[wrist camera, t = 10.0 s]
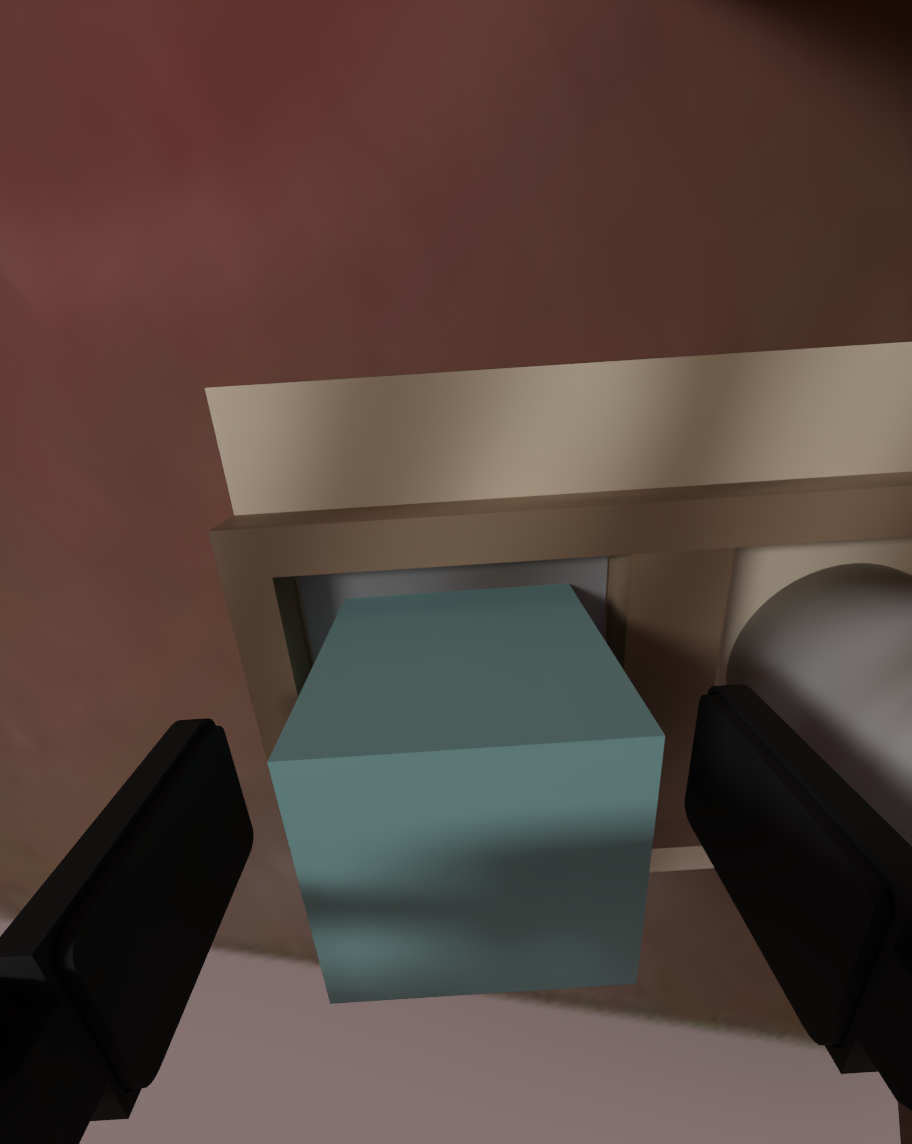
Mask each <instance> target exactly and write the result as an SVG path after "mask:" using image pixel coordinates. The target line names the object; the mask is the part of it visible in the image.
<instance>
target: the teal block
mask: <svg viewBox="0 0 912 1144" xmlns="http://www.w3.org/2000/svg"><path fill="white" fill-rule="evenodd" d="M664 743H665V735H664V733H663V731H662V730H661V728H660V727H659V725H658V723H657V722H656V720H655V719H654V717H653V716H652V714H651V712H650V711H649V709H648V708H647V706H646V705H645V703H644V701H643V700H642V698H641V697H640V695H639V694H638V692H637V690H636V689H635V687H634V686H633V684H632V682H631V681H630V679H629V678H628V676H627V675H626V673H625V671H624V670H623V668H622V667H621V665H620V664H619V662H618V660H617V659H616V657H615V656H614V654H613V653H612V651H611V649H610V648H609V646H608V645H607V643H606V641H605V640H604V638H603V637H602V635H601V634H600V632H599V630H598V629H597V627H596V626H595V624H594V623H593V621H592V619H591V618H590V616H589V615H588V613H587V612H586V610H585V608H584V607H583V605H582V604H581V602H580V600H579V599H578V597H577V596H576V594H575V593H574V591H573V589H572V588H571V586H570V585H569V583H568V584H553V585H538V586H524V587H509V588H494V589H479V590H464V591H449V592H434V593H419V594H404V595H390V596H375V597H360V598H345V600H344V602H343V604H342V606H341V608H340V610H339V612H338V614H337V616H336V619H335V621H334V623H333V625H332V627H331V629H330V631H329V633H328V635H327V637H326V640H325V642H324V644H323V646H322V648H321V650H320V652H319V654H318V656H317V659H316V661H315V663H314V665H313V667H312V669H311V671H310V673H309V675H308V678H307V680H306V682H305V684H304V686H303V688H302V690H301V692H300V694H299V696H298V699H297V701H296V703H295V705H294V707H293V709H292V711H291V713H290V715H289V718H288V720H287V722H286V724H285V726H284V728H283V730H282V732H281V734H280V737H279V739H278V741H277V743H276V745H275V747H274V749H273V751H272V753H271V755H270V758H269V760H268V762H267V763H268V767H269V770H270V774H271V778H272V782H273V786H274V790H275V793H276V797H277V801H278V805H279V809H280V813H281V816H282V820H283V824H284V828H285V832H286V836H287V839H288V843H289V847H290V851H291V855H292V859H293V862H294V866H295V870H296V874H297V878H298V882H299V885H300V889H301V893H302V897H303V901H304V905H305V908H306V912H307V916H308V920H309V924H310V928H311V931H312V935H313V939H314V943H315V947H316V951H317V954H318V958H319V962H320V966H321V970H322V974H323V977H324V980H325V985H326V989H327V992H328V996H329V1000H330V1003H331V1004H332V1003H347V1002H363V1001H378V1000H393V999H408V998H424V997H438V996H455V995H470V994H486V993H501V992H516V991H532V990H547V989H563V988H578V987H593V986H609V985H624V984H636V983H637V975H638V966H639V957H640V949H641V940H642V932H643V923H644V914H645V906H646V897H647V889H648V880H649V871H650V863H651V854H652V846H653V837H654V828H655V820H656V811H657V803H658V794H659V785H660V777H661V768H662V760H663V751H664Z"/></svg>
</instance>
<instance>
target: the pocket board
mask: <svg viewBox="0 0 912 1144" xmlns="http://www.w3.org/2000/svg"><path fill="white" fill-rule="evenodd" d="M205 391H206V396H207V400H208V404H209V408H210V413H211V417H212V421H213V426H214V430H215V434H216V438H217V443H218V447H219V451H220V455H221V460H222V464H223V468H224V473H225V477H226V481H227V485H228V490H229V494H230V498H231V503H232V507H233V511H234V516H233V517H231V518H229V519H228V520H226V521H224V522H223V523H221V524H219V525H218V526H216V527H215V528H213V529H211V530H210V531H208V533H209V537H210V541H211V545H212V549H213V552H214V556H215V560H216V564H217V568H218V572H219V576H220V580H221V584H222V587H223V591H224V595H225V599H226V603H227V607H228V611H229V615H230V618H231V622H232V626H233V630H234V634H235V638H236V642H237V646H238V650H239V653H240V657H241V661H242V665H243V669H244V673H245V677H246V681H247V685H248V688H249V692H250V696H251V700H252V704H253V708H254V712H255V716H256V720H257V723H258V727H259V731H260V735H261V739H262V743H263V747H264V751H265V754H266V758H267V762H268V760H269V758H270V755H271V753H272V751H273V749H274V747H275V745H276V743H277V741H278V739H279V737H280V734H281V732H282V730H283V728H284V726H285V724H286V722H287V720H288V718H289V715H290V713H291V711H292V709H293V707H294V705H295V703H296V701H297V699H298V696H299V694H300V692H301V690H302V688H303V686H304V684H305V682H306V680H307V678H308V675H309V673H310V671H311V669H312V667H313V665H314V663H315V661H316V659H317V656H318V654H319V652H320V650H321V648H322V646H323V644H324V642H325V640H326V637H327V635H328V633H329V631H330V629H331V627H332V625H333V623H334V621H335V619H336V616H337V614H338V612H339V610H340V608H341V606H342V604H343V602H344V600H345V598H360V597H375V596H390V595H404V594H419V593H434V592H449V591H464V590H479V589H494V588H509V587H524V586H538V585H553V584H568V583H569V585H570V586H571V588H572V589H573V591H574V593H575V594H576V596H577V597H578V599H579V600H580V602H581V604H582V605H583V607H584V608H585V610H586V612H587V613H588V615H589V616H590V618H591V619H592V621H593V623H594V624H595V626H596V627H597V629H598V630H599V632H600V634H601V635H602V637H603V638H604V640H605V641H606V643H607V645H608V646H609V648H610V649H611V651H612V653H613V654H614V656H615V657H616V659H617V660H618V662H619V664H620V665H621V667H622V668H623V670H624V671H625V673H626V675H627V676H628V678H629V679H630V681H631V682H632V684H633V686H634V687H635V689H636V690H637V692H638V694H639V695H640V697H641V698H642V700H643V701H644V703H645V705H646V706H647V708H648V709H649V711H650V712H651V714H652V716H653V717H654V719H655V720H656V722H657V723H658V725H659V727H660V728H661V730H662V731H663V733H664V735H665V743H664V751H663V760H662V768H661V777H660V785H659V794H658V803H657V811H656V820H655V828H654V837H653V846H652V854H651V863H650V871H649V872H660V871H676V870H692V869H707V868H714V866H713V865H712V863H711V861H710V859H709V858H708V856H707V854H706V852H705V850H704V849H703V847H702V845H701V843H700V841H699V840H698V838H697V836H696V834H695V833H694V831H693V829H692V827H691V825H690V823H689V821H688V819H687V816H686V812H685V806H684V803H685V794H686V787H687V781H688V774H689V767H690V760H691V753H692V747H693V740H694V733H695V726H696V719H697V712H698V706H699V700H700V697H701V696H702V695H704V694H707V693H708V690H709V689H710V687H712V686H721V685H736V684H744V685H747V686H748V687H750V688H751V689H752V690H753V691H754V692H755V693H756V694H757V695H758V696H759V697H760V698H761V699H762V700H763V701H764V702H765V703H766V704H767V705H768V706H769V707H770V708H771V709H772V710H773V711H774V712H775V713H776V714H777V715H779V716H780V717H781V718H782V719H783V720H784V721H785V722H786V723H787V724H788V725H789V726H790V727H791V728H792V729H793V730H794V731H795V732H796V733H797V734H798V735H799V736H800V737H801V738H802V739H803V740H804V741H805V742H806V743H807V744H808V745H809V746H810V747H811V748H812V749H813V750H814V751H815V752H816V753H817V754H818V755H819V756H820V757H821V758H822V759H823V760H824V761H825V762H826V763H827V764H828V765H829V766H830V767H831V768H833V769H834V770H835V771H836V772H837V773H838V774H839V775H840V776H841V777H842V778H843V779H844V780H845V781H846V782H847V783H848V784H849V785H850V786H851V787H852V788H853V789H854V790H855V791H856V792H857V793H858V794H859V795H860V796H861V797H862V798H863V799H864V800H865V801H866V802H867V803H868V804H869V805H870V806H871V807H872V808H873V809H874V810H875V811H876V812H877V813H878V814H879V815H880V816H881V817H882V818H883V819H884V820H886V821H887V822H888V823H889V824H890V825H891V826H892V827H893V828H894V829H895V830H896V831H897V832H898V833H899V834H900V835H901V836H902V837H903V838H904V839H905V840H906V841H907V842H908V843H909V844H910V845H911V846H912V342H901V343H886V344H871V345H855V346H840V347H825V348H810V349H794V350H779V351H764V352H748V353H733V354H718V355H703V356H687V357H672V358H657V359H642V360H626V361H611V362H596V363H580V364H565V365H550V366H534V367H519V368H504V369H489V370H473V371H458V372H443V373H427V374H412V375H397V376H382V377H366V378H351V379H336V380H321V381H305V382H290V383H275V384H259V385H244V386H229V387H214V388H205ZM281 817H282V816H281ZM282 821H283V820H282ZM287 840H288V839H287ZM288 844H289V843H288ZM289 848H290V847H289ZM290 852H291V851H290ZM293 863H294V862H293ZM294 867H295V866H294ZM295 871H296V870H295Z"/></svg>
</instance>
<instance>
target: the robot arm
mask: <svg viewBox="0 0 912 1144" xmlns="http://www.w3.org/2000/svg"><path fill="white" fill-rule="evenodd" d="M684 806H685V812H686V816H687V819H688V821H689V823H690V825H691V827H692V829H693V831H694V833H695V834H696V836H697V838H698V840H699V841H700V843H701V845H702V847H703V849H704V850H705V852H706V854H707V856H708V858H709V859H710V861H711V863H712V865H713V866H714V868H715V870H716V872H717V874H718V875H719V877H720V879H721V881H722V882H723V884H724V886H725V888H726V890H727V891H728V893H729V895H730V897H731V898H732V900H733V902H734V904H735V906H736V907H737V909H738V911H739V913H740V914H741V916H742V918H743V920H744V922H745V923H746V925H747V927H748V929H749V931H750V932H751V934H752V936H753V938H754V939H755V941H756V943H757V945H758V947H759V948H760V950H761V952H762V954H763V955H764V957H765V959H766V961H767V963H768V964H769V966H770V968H771V970H772V971H773V973H774V975H775V977H776V979H777V980H778V982H779V984H780V986H781V987H782V989H783V991H784V993H785V995H786V996H787V998H788V1000H789V1002H790V1004H791V1005H792V1007H793V1009H794V1011H795V1012H796V1014H797V1016H798V1018H799V1020H800V1021H801V1023H802V1025H803V1027H804V1028H805V1030H806V1031H807V1033H808V1035H809V1036H810V1037H811V1038H812V1039H813V1041H814V1042H816V1043H817V1044H818V1045H825V1047H826V1048H827V1050H828V1052H829V1054H830V1055H831V1057H832V1059H833V1061H834V1062H835V1064H836V1066H837V1067H838V1069H839V1071H840V1073H841V1074H846V1073H859V1072H877V1071H879V1073H880V1075H881V1076H882V1078H883V1079H884V1081H885V1082H886V1084H887V1086H888V1087H889V1089H890V1090H891V1091H892V1093H893V1095H894V1097H895V1098H896V1100H897V1101H898V1110H899V1122H900V1123H899V1124H900V1138H901V1144H912V846H911V845H910V844H909V843H908V842H907V841H906V840H905V839H904V838H903V837H902V836H901V835H900V834H899V833H898V832H897V831H896V830H895V829H894V828H893V827H892V826H891V825H890V824H889V823H888V822H887V821H886V820H884V819H883V818H882V817H881V816H880V815H879V814H878V813H877V812H876V811H875V810H874V809H873V808H872V807H871V806H870V805H869V804H868V803H867V802H866V801H865V800H864V799H863V798H862V797H861V796H860V795H859V794H858V793H857V792H856V791H855V790H854V789H853V788H852V787H851V786H850V785H849V784H848V783H847V782H846V781H845V780H844V779H843V778H842V777H841V776H840V775H839V774H838V773H837V772H836V771H835V770H834V769H833V768H831V767H830V766H829V765H828V764H827V763H826V762H825V761H824V760H823V759H822V758H821V757H820V756H819V755H818V754H817V753H816V752H815V751H814V750H813V749H812V748H811V747H810V746H809V745H808V744H807V743H806V742H805V741H804V740H803V739H802V738H801V737H800V736H799V735H798V734H797V733H796V732H795V731H794V730H793V729H792V728H791V727H790V726H789V725H788V724H787V723H786V722H785V721H784V720H783V719H782V718H781V717H780V716H779V715H777V714H776V713H775V712H774V711H773V710H772V709H771V708H770V707H769V706H768V705H767V704H766V703H765V702H764V701H763V700H762V699H761V698H760V697H759V696H758V695H757V694H756V693H755V692H754V691H753V690H752V689H751V688H750V687H748V686H747V685H744V684H736V685H721V686H712V687H710V689H709V690H708V693H707V694H704V695H702V696H701V697H700V700H699V706H698V712H697V719H696V726H695V733H694V740H693V747H692V753H691V760H690V767H689V774H688V781H687V787H686V794H685V803H684ZM252 844H253V828H252V824H251V821H250V818H249V814H248V811H247V807H246V804H245V800H244V797H243V793H242V790H241V787H240V783H239V780H238V776H237V773H236V769H235V766H234V762H233V759H232V755H231V752H230V749H229V745H228V742H227V738H226V735H225V732H224V729H223V728H222V727H221V726H216V725H215V723H214V721H213V720H212V719H208V718H207V719H192V720H179V721H176V722H175V723H174V724H173V725H172V726H171V727H170V728H169V729H168V730H167V732H166V733H165V734H164V735H163V737H162V738H161V739H160V740H159V742H158V743H157V744H156V745H155V747H154V748H153V749H152V750H151V751H150V753H149V754H148V755H147V756H146V758H145V759H144V760H143V761H142V763H141V764H140V765H139V766H138V767H137V769H136V770H135V771H134V772H133V774H132V775H131V776H130V777H129V779H128V780H127V781H126V782H125V784H124V785H123V786H122V787H121V788H120V790H119V791H118V792H117V793H116V795H115V796H114V797H113V798H112V800H111V801H110V802H109V803H108V805H107V806H106V807H105V808H104V809H103V811H102V812H101V813H100V814H99V816H98V817H97V818H96V819H95V821H94V822H93V823H92V824H91V825H90V827H89V828H88V829H87V830H86V832H85V833H84V834H83V835H82V837H81V838H80V839H79V840H78V842H77V843H76V844H75V845H74V846H73V848H72V849H71V850H70V851H69V853H68V854H67V855H66V856H65V858H64V859H63V860H62V861H61V863H60V864H59V865H58V866H57V867H56V869H55V870H54V871H53V872H52V874H51V875H50V876H49V877H48V879H47V880H46V881H45V882H44V884H43V885H42V886H41V887H40V888H39V890H38V891H37V892H36V893H35V895H34V896H33V897H32V898H31V900H30V901H29V902H28V903H27V904H26V906H25V907H24V908H23V909H22V911H21V912H20V913H19V914H18V916H17V917H16V918H15V919H14V921H13V922H12V923H11V924H10V925H9V927H8V928H7V929H6V931H5V932H4V933H3V934H2V935H1V937H0V1144H79V1143H80V1140H81V1138H82V1136H83V1134H84V1132H85V1130H86V1128H87V1126H88V1124H89V1122H90V1121H98V1120H115V1119H128V1118H129V1116H130V1114H131V1111H132V1109H133V1107H134V1104H135V1102H136V1100H137V1098H138V1095H139V1093H140V1091H141V1088H145V1087H147V1086H149V1085H150V1084H151V1083H152V1081H153V1080H154V1078H155V1076H156V1075H157V1073H158V1071H159V1069H160V1066H161V1064H162V1062H163V1059H164V1057H165V1055H166V1052H167V1050H168V1047H169V1045H170V1043H171V1040H172V1038H173V1035H174V1033H175V1031H176V1028H177V1026H178V1024H179V1021H180V1019H181V1016H182V1014H183V1012H184V1009H185V1007H186V1005H187V1002H188V1000H189V997H190V995H191V993H192V990H193V988H194V985H195V983H196V981H197V978H198V976H199V974H200V971H201V969H202V966H203V964H204V962H205V959H206V957H207V954H208V952H209V950H210V947H211V945H212V943H213V940H214V938H215V935H216V933H217V931H218V928H219V926H220V923H221V921H222V919H223V916H224V914H225V911H226V909H227V907H228V904H229V902H230V900H231V897H232V895H233V892H234V890H235V888H236V885H237V883H238V880H239V878H240V876H241V873H242V871H243V869H244V866H245V864H246V861H247V859H248V857H249V854H250V852H251V849H252Z"/></svg>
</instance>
